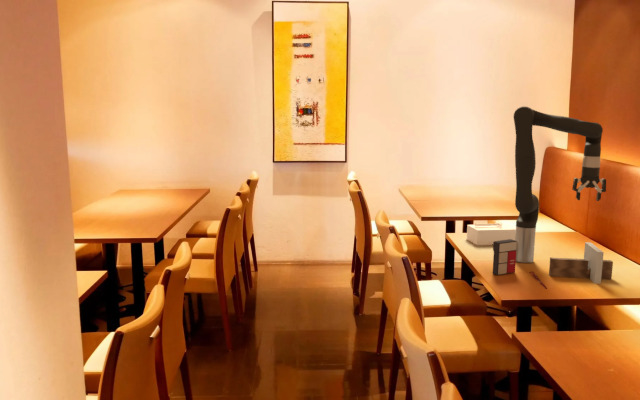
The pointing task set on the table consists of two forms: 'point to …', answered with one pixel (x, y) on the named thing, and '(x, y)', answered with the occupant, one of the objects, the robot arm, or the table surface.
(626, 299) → the table surface
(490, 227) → the tissue box
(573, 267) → the walnut board
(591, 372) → the table surface
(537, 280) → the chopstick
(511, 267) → the grey red box
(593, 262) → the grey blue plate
